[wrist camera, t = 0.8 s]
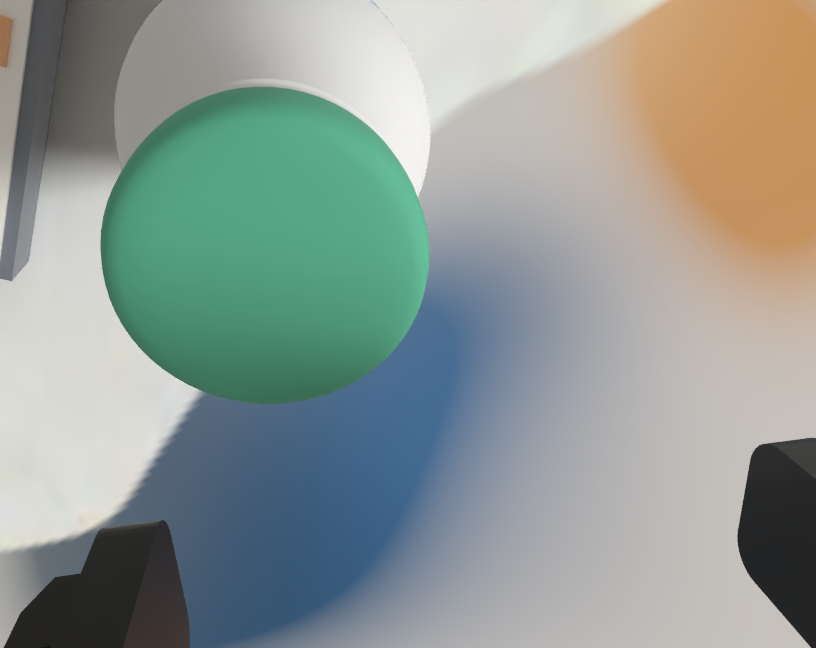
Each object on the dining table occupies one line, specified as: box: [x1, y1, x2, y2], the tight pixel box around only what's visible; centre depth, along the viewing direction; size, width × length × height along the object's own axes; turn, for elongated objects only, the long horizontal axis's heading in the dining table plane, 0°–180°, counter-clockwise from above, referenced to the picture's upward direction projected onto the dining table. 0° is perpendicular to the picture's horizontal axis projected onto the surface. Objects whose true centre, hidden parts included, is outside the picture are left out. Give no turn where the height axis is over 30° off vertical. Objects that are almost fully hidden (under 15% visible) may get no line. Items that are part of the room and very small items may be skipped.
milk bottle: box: [101, 0, 431, 404], centre depth 18 cm, size 8×8×20 cm
